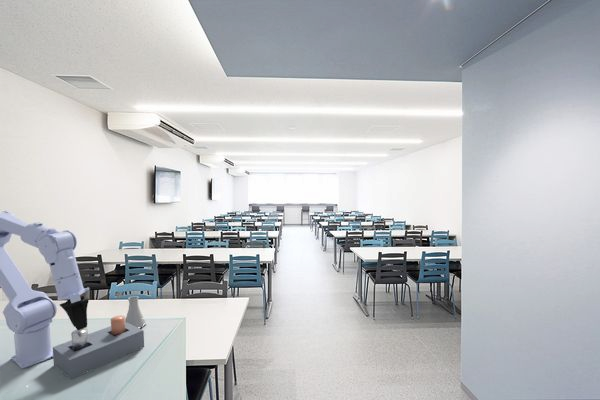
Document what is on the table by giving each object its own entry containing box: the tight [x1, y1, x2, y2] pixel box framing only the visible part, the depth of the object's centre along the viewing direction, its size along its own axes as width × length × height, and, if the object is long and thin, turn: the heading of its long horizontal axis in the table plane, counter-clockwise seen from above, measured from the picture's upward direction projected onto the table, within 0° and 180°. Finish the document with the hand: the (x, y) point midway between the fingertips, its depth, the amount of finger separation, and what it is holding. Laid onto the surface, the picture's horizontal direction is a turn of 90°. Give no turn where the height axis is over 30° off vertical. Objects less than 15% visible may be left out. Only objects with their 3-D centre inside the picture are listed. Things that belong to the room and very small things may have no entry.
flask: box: [125, 295, 146, 327], centre depth 110 cm, size 7×7×10 cm
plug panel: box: [52, 322, 145, 380], centre depth 93 cm, size 11×19×5 cm, turn 145°
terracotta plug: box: [110, 315, 126, 336], centre depth 96 cm, size 4×4×4 cm
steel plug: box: [70, 327, 89, 351], centre depth 88 cm, size 4×4×4 cm
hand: (80, 326), depth 87 cm, fingers open, 7 cm apart
